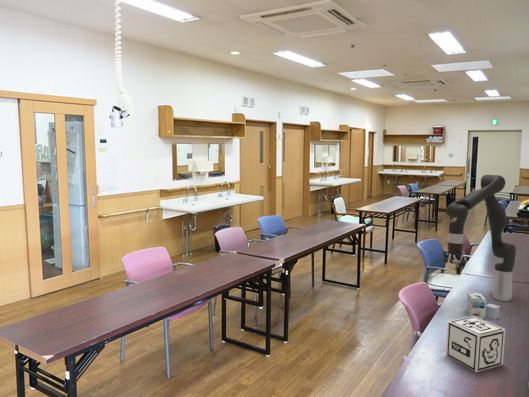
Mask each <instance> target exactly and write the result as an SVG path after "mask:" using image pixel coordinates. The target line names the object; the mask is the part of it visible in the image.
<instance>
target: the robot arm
mask: <svg viewBox="0 0 529 397" xmlns="http://www.w3.org/2000/svg"><path fill="white" fill-rule="evenodd" d="M505 186H506V179H505V177H504V176H503V175H502V176H501V175H497V174H484V175H482V176H481V178H480V188H479V189H476V190H474V191H471V192H470V193H468V194H467V195H465V196H463V197H462V198H461V199H457V200H455V201H453V202H451V203H450V204H448V205H447V208H446V211H445V212H446V214H447V215H448V216H449V217H452V218H456V219H455V221H450V222H449V225H448V235H447V250H446V251H443V252H442V255H443V261H444V263H445V264H447V262H453V261H455V263H456V264H457V271H456V274H460V273H461V274H462V268H463V267H465V266H466V263H467V260H468V257H467V256H465V255H463V251H464V238H465V237H464V227H465V223H466V220H467V218H468V214H469V210H472V209H473V208H474V207H476V206H477V205H479V204H480V203H481V202H482V201H484V203H485V207H486V211H487V219H488V223H489V228H490V229H489V230H490V236H491V249H492V250H491V251H492V254H493V255H494V256H495V257H496V258H500V259H502V262H500V263H499V262H498V263H495V264H494V272H493V273H494V274H493V286H492V287H493V288H492V298H493V299H494V300H497V301H502V302H509V301H511V300H512V298H513V297H512V296H513V274H514V272H513V270H514V268H515V267H514V266H515V262H516V261H515V260H516V255H517V249H516V246H515V244H512V243H508V242H503V237H502V234H503V232H504V230H505V229H506V226H507V224H508V218H507V212H506V210H505V208H504V207H503V206H502V204H501V202H499V200H498V198H497V197H496V194H497V193H499V192H501V191H503V190H504V188H505ZM461 267H462V268H461ZM461 274H460V275H461Z"/></svg>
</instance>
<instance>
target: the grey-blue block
mask: <svg viewBox="0 0 529 397" xmlns="http://www.w3.org/2000/svg"><path fill="white" fill-rule="evenodd" d="M500 308H501V307H500V305H496V304H492V303H488V304H486V312H485V318H488V319H492V320H496V319H498V318H499V317H500Z"/></svg>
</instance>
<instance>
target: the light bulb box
mask: <svg viewBox="0 0 529 397" xmlns="http://www.w3.org/2000/svg"><path fill="white" fill-rule="evenodd" d="M466 296H467V298H466V300H467V301H466V302H467V303H466V312H467V313H468V315H469V317H472V316H475V317H477V318H480V319H482V320H486V317H485V312H486V305H487V299H486V298H485V297H484V296H483V295H482V294H481V293H480V292H471V291H467V295H466Z"/></svg>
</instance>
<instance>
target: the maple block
mask: <svg viewBox="0 0 529 397" xmlns="http://www.w3.org/2000/svg"><path fill="white" fill-rule="evenodd" d="M462 268H463V267H461V269H462ZM456 271H457V264H456V263H455V261H453V262H447V263H446V274H447V275H452V276H460V275H462V272H461V273H460V274H456Z"/></svg>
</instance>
